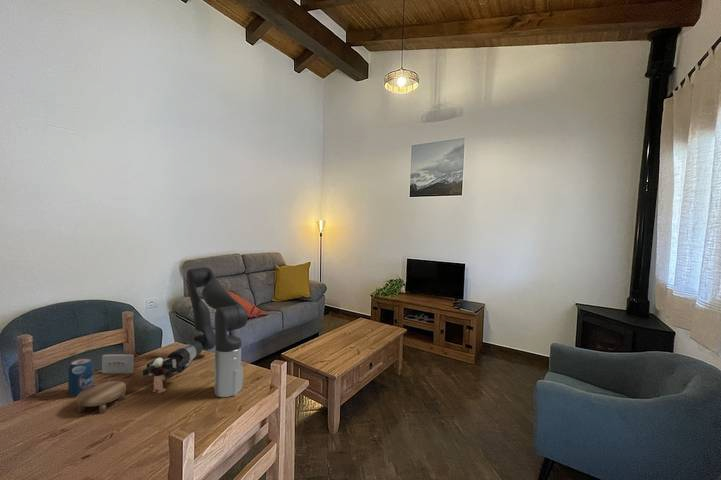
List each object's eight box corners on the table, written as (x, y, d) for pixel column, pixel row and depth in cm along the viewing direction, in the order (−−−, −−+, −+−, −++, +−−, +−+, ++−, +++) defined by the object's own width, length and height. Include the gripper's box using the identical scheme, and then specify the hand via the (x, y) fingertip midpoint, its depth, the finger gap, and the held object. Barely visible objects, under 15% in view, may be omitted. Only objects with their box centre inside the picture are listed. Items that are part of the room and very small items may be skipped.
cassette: (100, 373, 128) (100, 356, 127) (104, 371, 129) (104, 354, 129) (131, 373, 129) (131, 355, 129) (134, 371, 131) (134, 354, 130)
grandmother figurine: (170, 388, 118) (171, 356, 118) (163, 394, 114) (163, 361, 114) (152, 387, 119) (152, 355, 118) (144, 392, 115) (144, 359, 115)
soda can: (84, 397, 110) (84, 365, 110) (62, 398, 109) (62, 365, 109) (98, 387, 117) (98, 356, 117) (77, 388, 116) (78, 357, 116)
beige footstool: (134, 395, 113) (134, 382, 112) (103, 417, 100) (103, 402, 99) (101, 393, 113) (101, 380, 113) (65, 414, 100) (65, 399, 100)
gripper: (166, 346, 131) (136, 363, 115) (198, 348, 130) (172, 365, 114) (166, 363, 131) (136, 382, 115) (198, 365, 131) (172, 385, 114)
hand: (154, 374), depth 115 cm, fingers open, 8 cm apart
